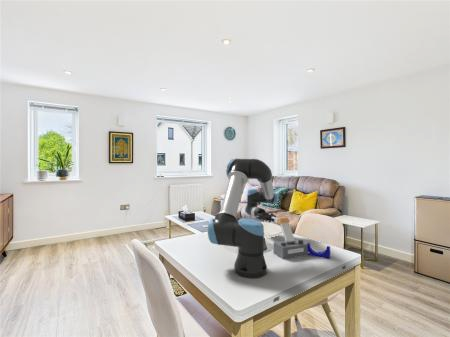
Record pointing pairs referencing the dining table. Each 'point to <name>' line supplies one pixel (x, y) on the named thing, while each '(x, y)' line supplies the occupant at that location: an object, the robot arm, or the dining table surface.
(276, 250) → the block
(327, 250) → the cable clip
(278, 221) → the breaker lever
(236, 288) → the dining table surface
